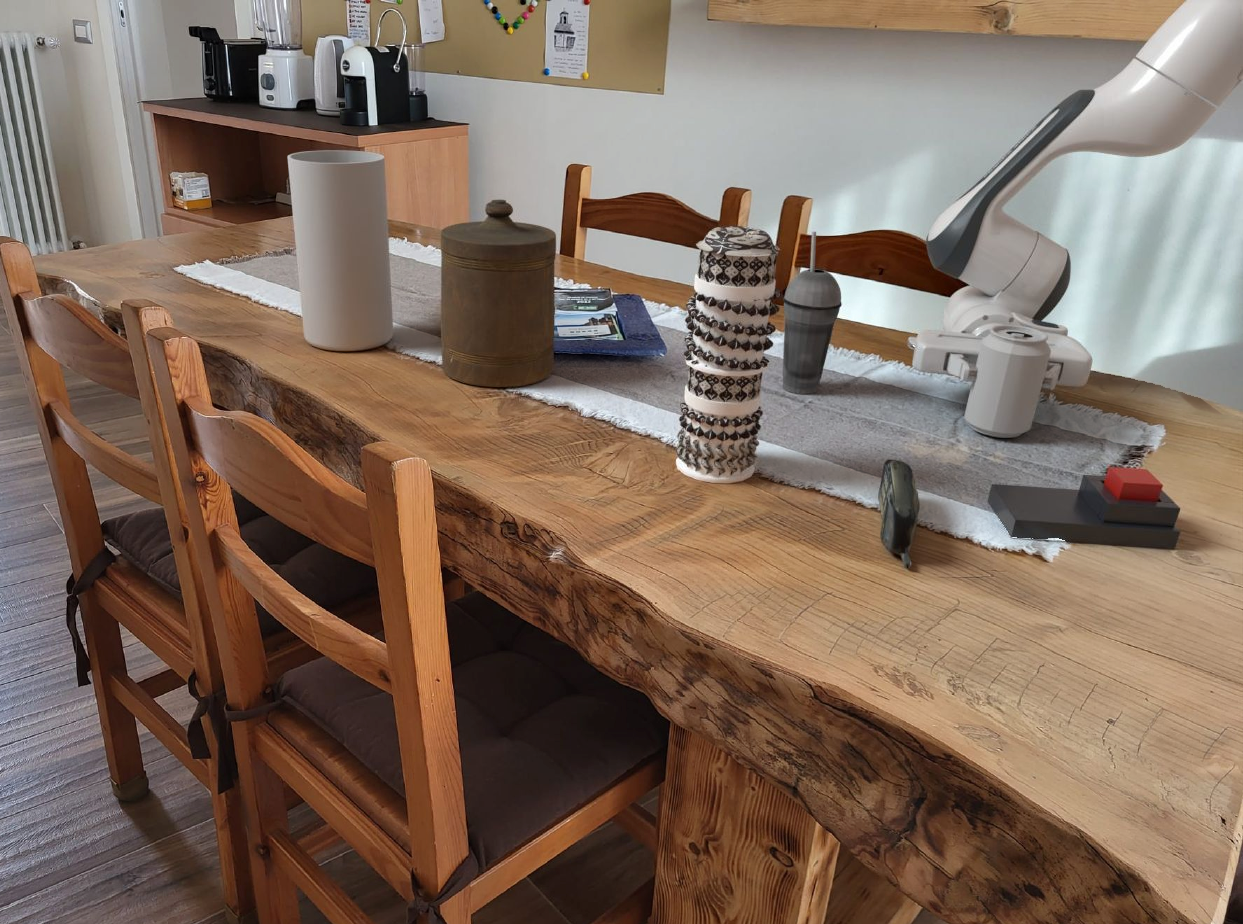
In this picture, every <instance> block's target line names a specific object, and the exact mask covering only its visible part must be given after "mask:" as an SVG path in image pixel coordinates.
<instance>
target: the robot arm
mask: <svg viewBox="0 0 1243 924" xmlns="http://www.w3.org/2000/svg"><path fill="white" fill-rule="evenodd" d="M1137 58H1138V59H1139V60H1138V59H1137ZM1140 60H1141V61H1142V62H1141V61H1140ZM1146 64H1147V65H1146ZM1148 65H1149V66H1148ZM1153 68H1154V69H1153ZM1156 70H1157V71H1156ZM1171 79H1172V80H1171ZM1242 81H1243V0H1185V1H1184V2H1183V3H1182V4H1181V5H1180V6H1179V7H1178V8H1177V9H1176V10H1175V11H1174V12H1173V13H1171V15H1170V16H1169V17H1168V18H1167V19H1166V20H1165V21H1164V22H1163V23H1162V24H1161V25H1160V27H1159V28H1158V29H1157V30H1156V31H1155V32H1154V33H1153V34H1152V35H1151V37H1150V38H1149V39H1148V40H1147V41H1146V42H1145V44H1144V45H1143V46H1142V47H1141V49H1140V50H1139V51H1138V52H1137V53H1136V55H1135V57H1133V58H1132V60H1131V61H1130V62H1129V63H1128V64H1127V66H1125V67H1124V69H1123V70H1122V71H1120V72H1119V73H1118V74H1116V75H1115V76H1114V77H1112V78H1111V79H1110V80H1108V81H1107V82H1105V83H1104V84H1102V85H1100V86H1097V87H1096V88H1094V89H1078V90H1077V91H1074V93H1071V94H1070V95H1069V96H1067V97H1066V98H1064V99H1063V100H1062V101H1061V102H1060V103H1058V104H1057V105H1055V107H1053V108H1052V110H1051V111H1049V112H1048V113H1047V114H1046V115H1045V116H1044V117H1043V118H1042V119H1041V120H1040V121H1039V122H1038V123H1036V124H1035V125H1034V126H1033V127H1032V128H1031V129H1030V130H1029V131H1028V132H1027V133H1026V134H1025V135H1024V136H1023V137H1022V138H1021V139H1020V140H1018V142H1017V143H1016V144H1015V145H1014V146H1013V147H1012V148H1011V149H1010V150H1009V151H1008V152H1007V153H1005V155H1004V156H1002V158H1000V160H999V161H997V162H996V163H995V164H994V166H992V167H991V168H990V170H989V171H987V172H986V174H984V175H983V176H982V177H981V178H980V179H979V180H978V181H977V182H976V183H975V184H974V185H972V187H970V189H968V190H967V191H966V192H965V193H963V194H962V195H961V196H960V197H959V198H958V199H957V200H956V201H954V202H953V203H952V204H951V205H949V206H948V207H947V208H946V209H944V210H943V212H941V214H940V215H939V216H938V217H937V219H936V220H935V221H934V222H933V224H932V226H931V228H930V230H929V231H928V234H927V236H926V239H925V244H926V251H927V255H928V258H929V261H930V263H931V265H932V267H933V269H934V270H936V271H939V272H941V273H943V274H945V275H948V276H950V277H952V278H954V279H957V280H960V281H961V282H964V283H965V284H967V286H964V287H962V288H959V289H958V290H957V291H955V292H954V293H953V294H952V295H951V296H950V297H949V298H948V300H947V302H946V304H945V306H944V310H943V312H942V313H943V314H942V330H936V329H932V330H931V329H925V330H921V331H920V332H918V334H917V336H909V337H908V339H907V340H906V342H907V343H906V345H907V347H908V348H909V349H910V350H913V353H912V354H913V355H912V361H911V362H912V363H911V365H912V369H913V370H915V371H918V372H920V373H925V374H935V375H944V376H945V375H947V376H955V377H958V378H960V380H961V382H967V383H968V382H969V383H972V382H975V381H976V375H977V373H978V368H977V367H976V363H977V359H978V355H979V350H980V346H981V341H982V339H983V338H985V337H986V336H987V335H989V334H990V333H991V332H990V328H992V327H994V326H997V325H1017V326H1024V327H1029V328H1033V329H1036V330H1039V331H1042V332H1044V333H1045V334H1046V335H1047V336H1048V340H1046V342H1047V344H1048V345H1049V347H1050V349H1051V353H1050V357H1049V361H1048V365H1047V368H1046V372H1045V376H1044V380H1043V384H1042V387H1041V390H1042V389H1043V390H1050V391H1051V390H1052V391H1053V390H1055V388H1056V386H1065V387H1066V386H1067V387H1074V388H1075V387H1076V388H1081V387H1083V386H1085V385H1086V384H1087V382H1088V380H1089V377H1090V374H1091V370H1092V366H1093V356H1092V354H1091V353H1090V352H1089V351H1088V350H1087V349H1086V347H1085V346H1084V345H1083V344H1082V343H1080V341H1078V340H1077V339H1076V338H1073V337H1072V336H1068V334H1069V329H1068V327H1066V326H1064V325H1062V324H1058V323H1053V322H1049V321H1043V320H1044V319H1046V317H1048V315H1050V313H1052V311H1053V310H1054V309H1055V308H1056V307H1057V305H1059V303H1060V301H1062V299H1063V297H1064V296H1065V294H1066V292H1067V290H1068V288H1069V285H1070V281H1071V270H1072V262H1071V256H1070V252H1069V250H1068V248H1065V247H1064V246H1062V245H1061V244H1059V243H1057V242H1055V241H1053V240H1052V239H1051V238H1050V237H1047V236H1046V235H1044V234H1042V233H1040V232H1039V231H1037V230H1034V229H1032V228H1031V227H1029V226H1028V225H1025V224H1023V223H1022V222H1021V221H1019V220H1018V219H1015V218H1014V217H1012V216H1011V215H1009V214H1007V213H1006V212H1004V210H1003V207H1005V205H1006V204H1008V202H1010V201H1011V200H1012V199H1013V198H1014V197H1015V196H1016V195H1017V194H1018V193H1019V192H1020V191H1021V190H1022V189H1023V188H1025V186H1026V185H1028V183H1030V182H1031V181H1032V180H1033V179H1034V178H1035V177H1036V176H1037V175H1038V174H1039V173H1040V172H1041V171H1042V170H1043V169H1044V168H1045V167H1047V165H1049V164H1050V163H1051V162H1052V161H1054V160H1055V159H1057V158H1059V157H1061V156H1064V155H1067V154H1072V153H1080V152H1081V153H1085V152H1086V153H1087V152H1089V153H1098V154H1099V153H1100V154H1104V155H1105V154H1106V155H1112V156H1113V155H1114V156H1120V157H1127V158H1128V157H1129V158H1145V157H1146V158H1147V157H1153V156H1159V155H1162V154H1165V153H1168V152H1171V151H1173V150H1175V149H1177V148H1179V147H1181V146H1183V145H1184V144H1185V143H1187V141H1189V140H1190V139H1191V138H1192V137H1193V136H1194V135H1195V134H1196V133H1197V132H1198V131H1199V130H1200V129H1201V128H1202V127H1203V126H1204V125H1205V124H1206V122H1207V121H1208V120H1209V119H1210V118H1211V116H1213V114H1214V113H1216V111H1217V110H1218V108H1219V107H1220V106H1221V105H1222V104H1223V103H1224V101H1225V100H1227V98H1228V97H1229V96H1230V94H1231V93H1232V92H1233V91H1234V89H1235V88H1236V87H1237V86H1238V85H1239V84H1240V83H1241V82H1242ZM1176 82H1177V83H1176ZM1178 83H1179V84H1178ZM1184 87H1185V88H1184ZM1186 88H1187V89H1186ZM1189 90H1190V91H1189ZM1194 93H1195V94H1194ZM1201 97H1202V98H1201ZM1204 99H1205V100H1204ZM1206 100H1207V101H1206ZM1209 102H1210V103H1209ZM1212 104H1213V105H1212ZM1217 107H1218V108H1217Z"/></svg>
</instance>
